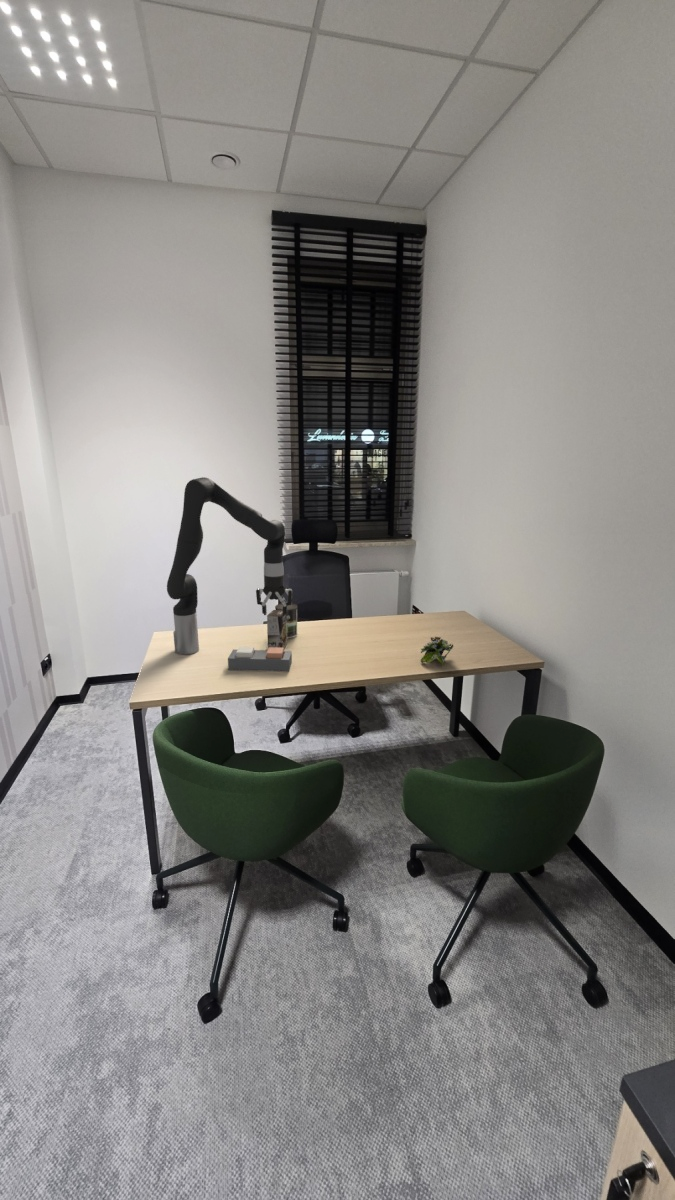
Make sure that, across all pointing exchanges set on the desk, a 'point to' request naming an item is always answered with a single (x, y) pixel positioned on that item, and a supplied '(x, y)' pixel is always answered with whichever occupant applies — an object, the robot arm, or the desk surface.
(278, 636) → the coffee box
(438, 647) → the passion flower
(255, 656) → the key console
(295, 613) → the coffee can
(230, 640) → the desk surface
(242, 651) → the offwhite key
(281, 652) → the terracotta key
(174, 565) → the robot arm
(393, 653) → the desk surface
